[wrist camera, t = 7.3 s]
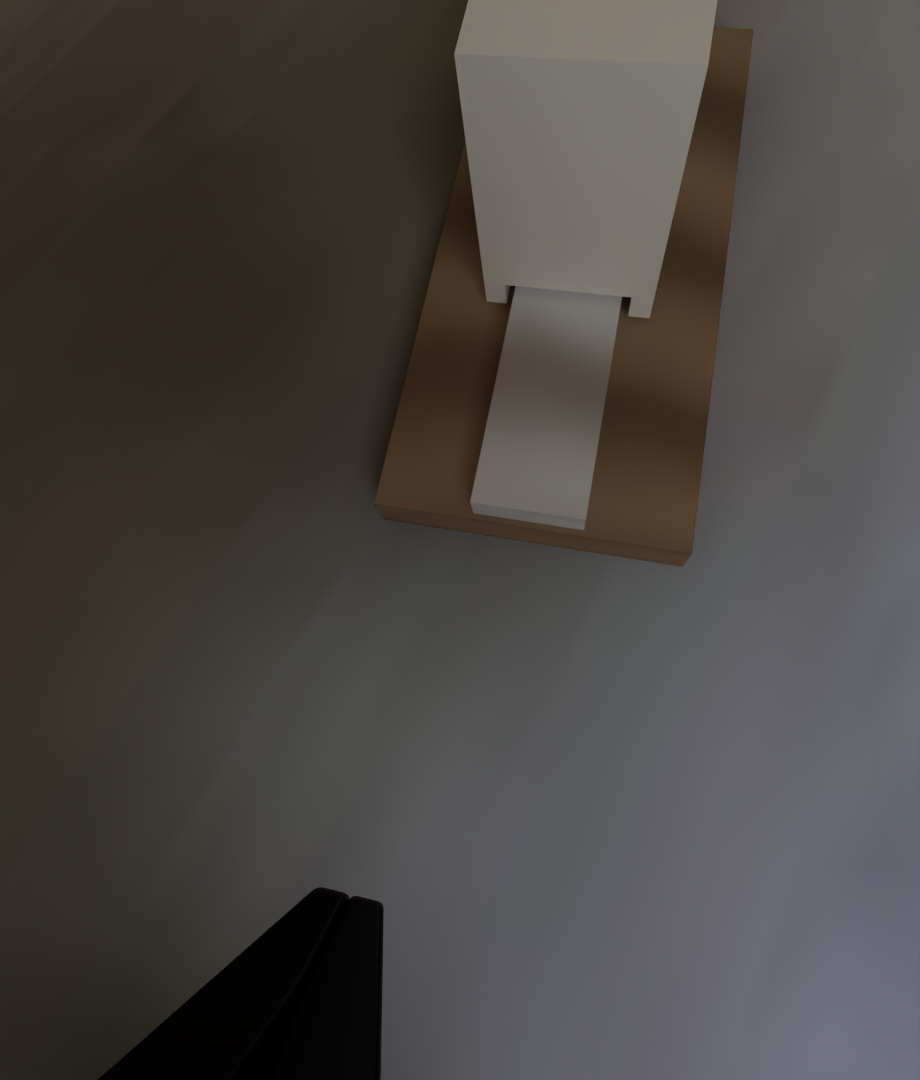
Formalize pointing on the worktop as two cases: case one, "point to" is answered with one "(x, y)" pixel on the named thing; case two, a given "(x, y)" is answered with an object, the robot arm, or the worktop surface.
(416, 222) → the worktop surface
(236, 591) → the worktop surface
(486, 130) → the block
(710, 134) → the rail board
